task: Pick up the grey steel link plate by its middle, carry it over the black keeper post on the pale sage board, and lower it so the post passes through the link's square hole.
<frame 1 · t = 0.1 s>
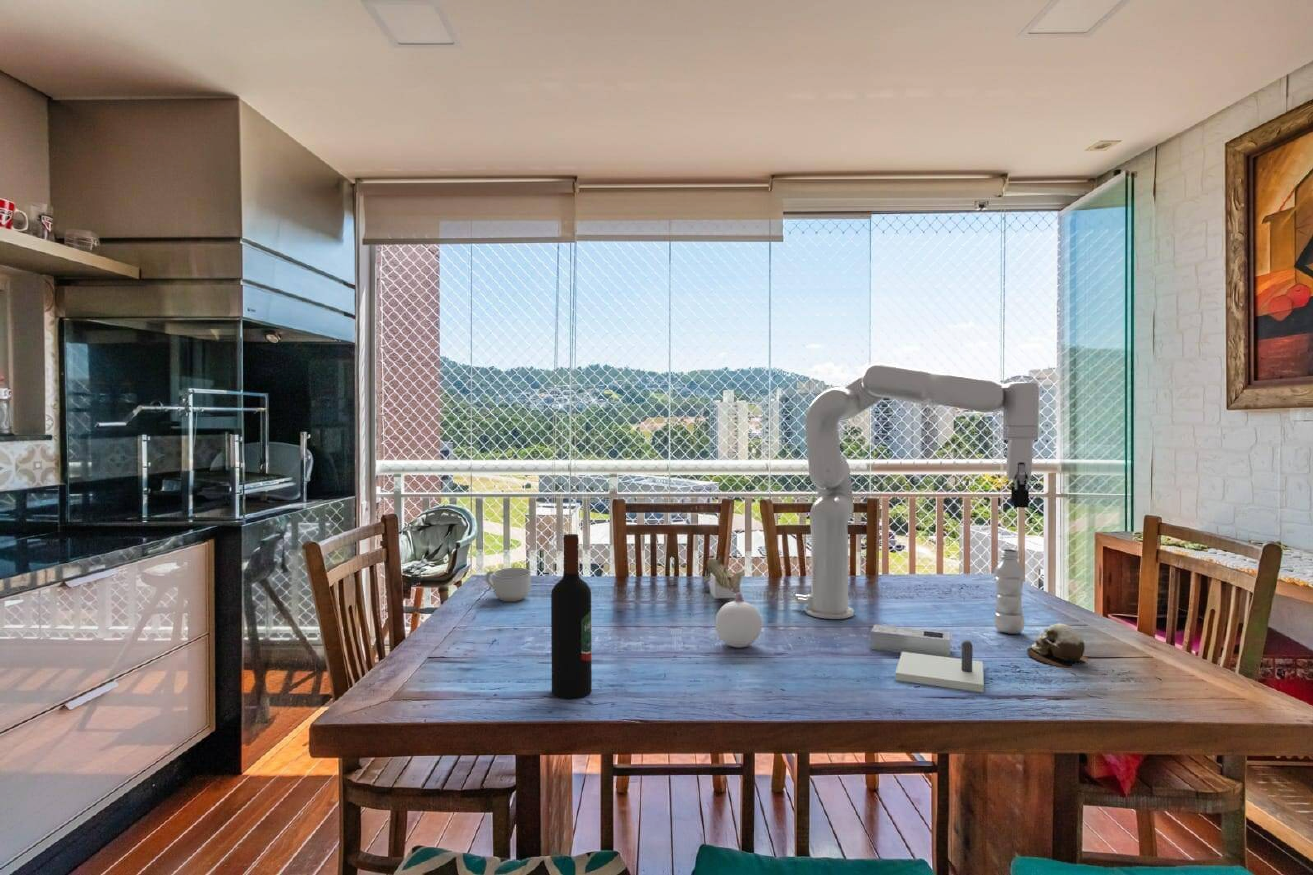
hand: (1019, 504, 174), 31 cm above the table, tool pointing down, fingers open, 9 cm apart
wine bottle: (571, 692, 138), on the table
link plate: (909, 649, 163), on the table
teacup: (507, 599, 209), on the table
skull: (1058, 659, 157), on the table
ornament: (738, 647, 166), on the table
plastic bottle: (1008, 633, 176), on the table
wood carving: (724, 598, 210), on the table
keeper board: (940, 674, 147), on the table
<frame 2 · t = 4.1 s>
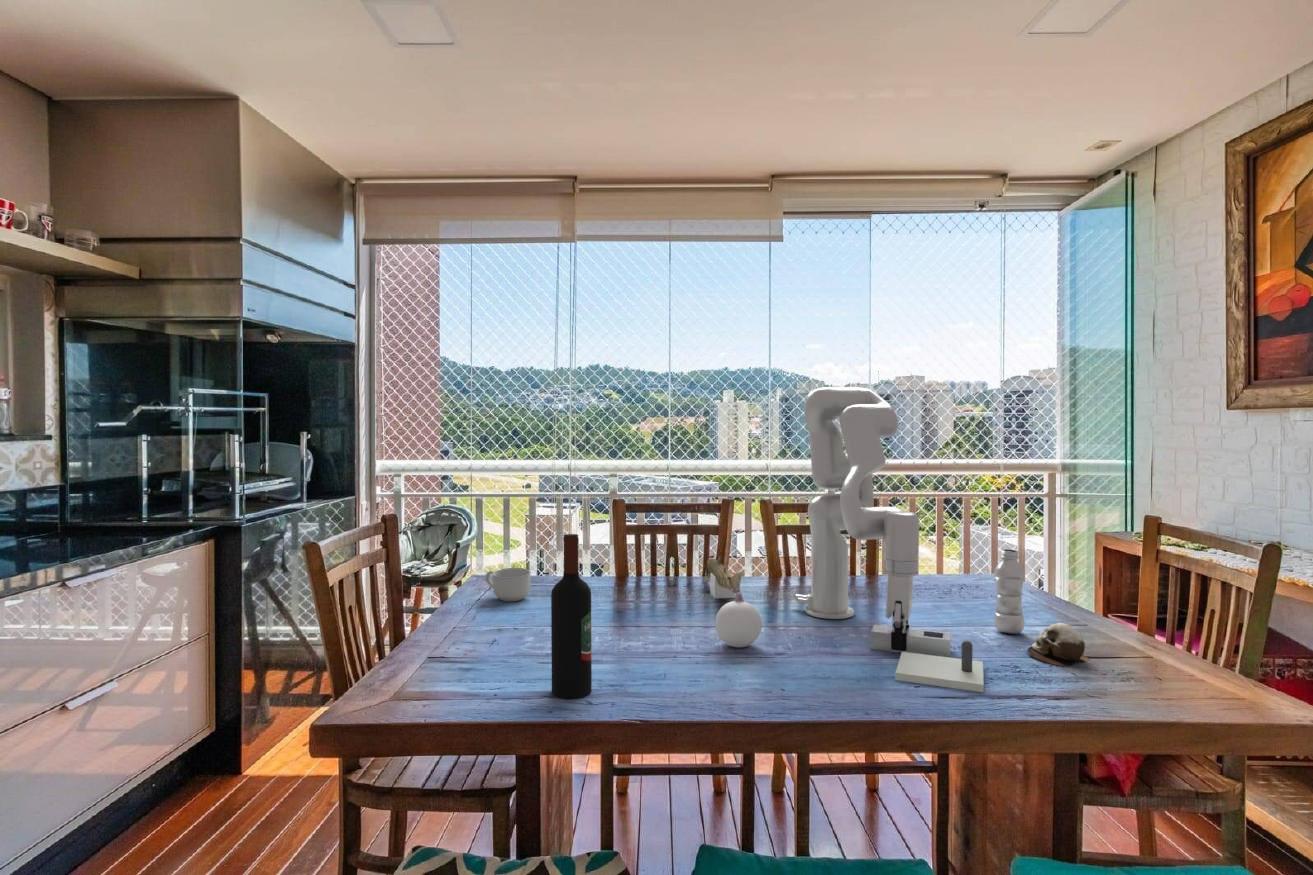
hand: (900, 644, 164), 1 cm above the table, tool pointing down, fingers closed on link plate, 6 cm apart
link plate: (909, 649, 163), on the table, touching gripper
everything else where it was.
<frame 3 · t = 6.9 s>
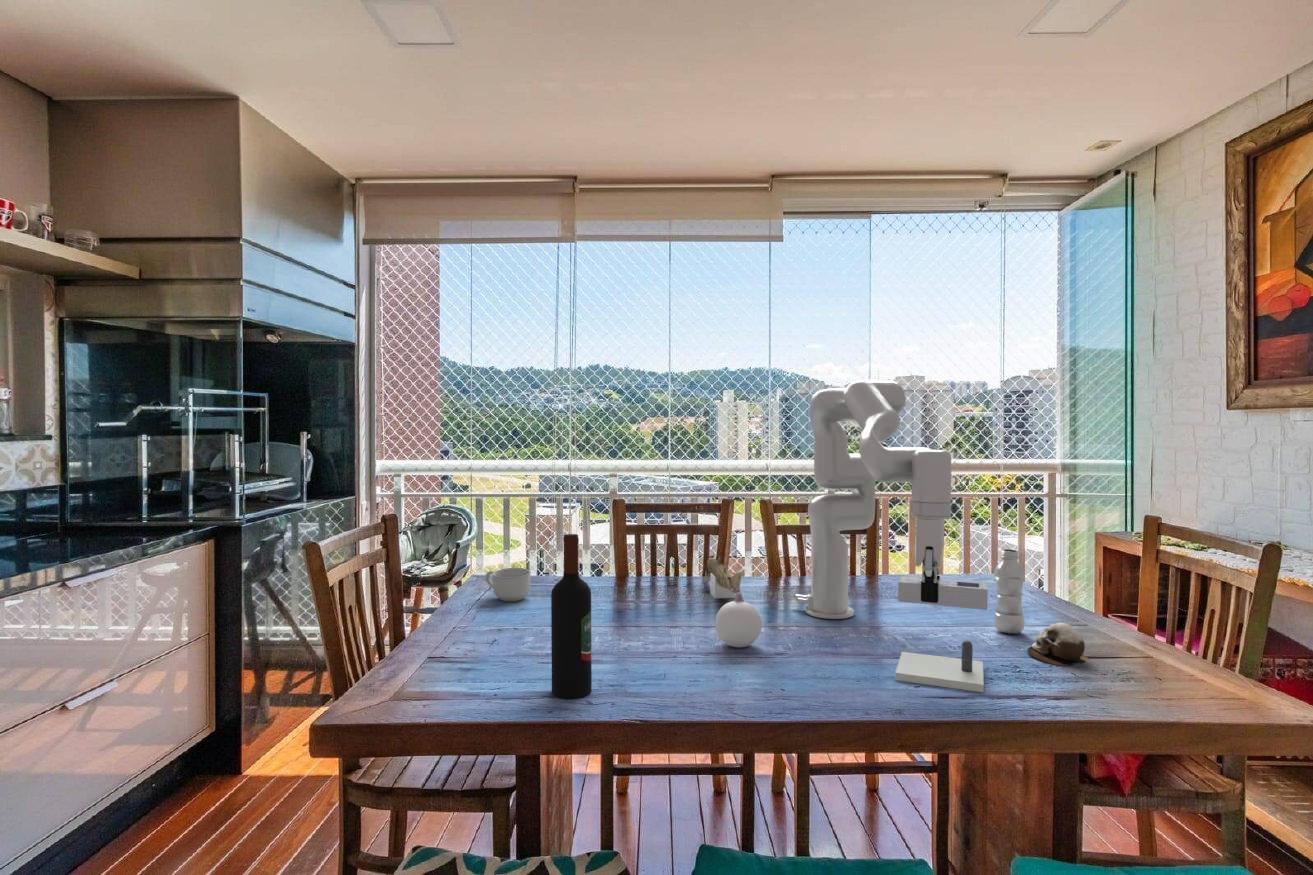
hand: (930, 597, 148), 16 cm above the table, tool pointing down, fingers closed on link plate, 6 cm apart
link plate: (941, 602, 147), point 15 cm above the table, touching gripper
everything else where it was.
when the fingers open (4 cm above the table, at t = 9.6 s): link plate drops 2 cm, resting on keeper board.
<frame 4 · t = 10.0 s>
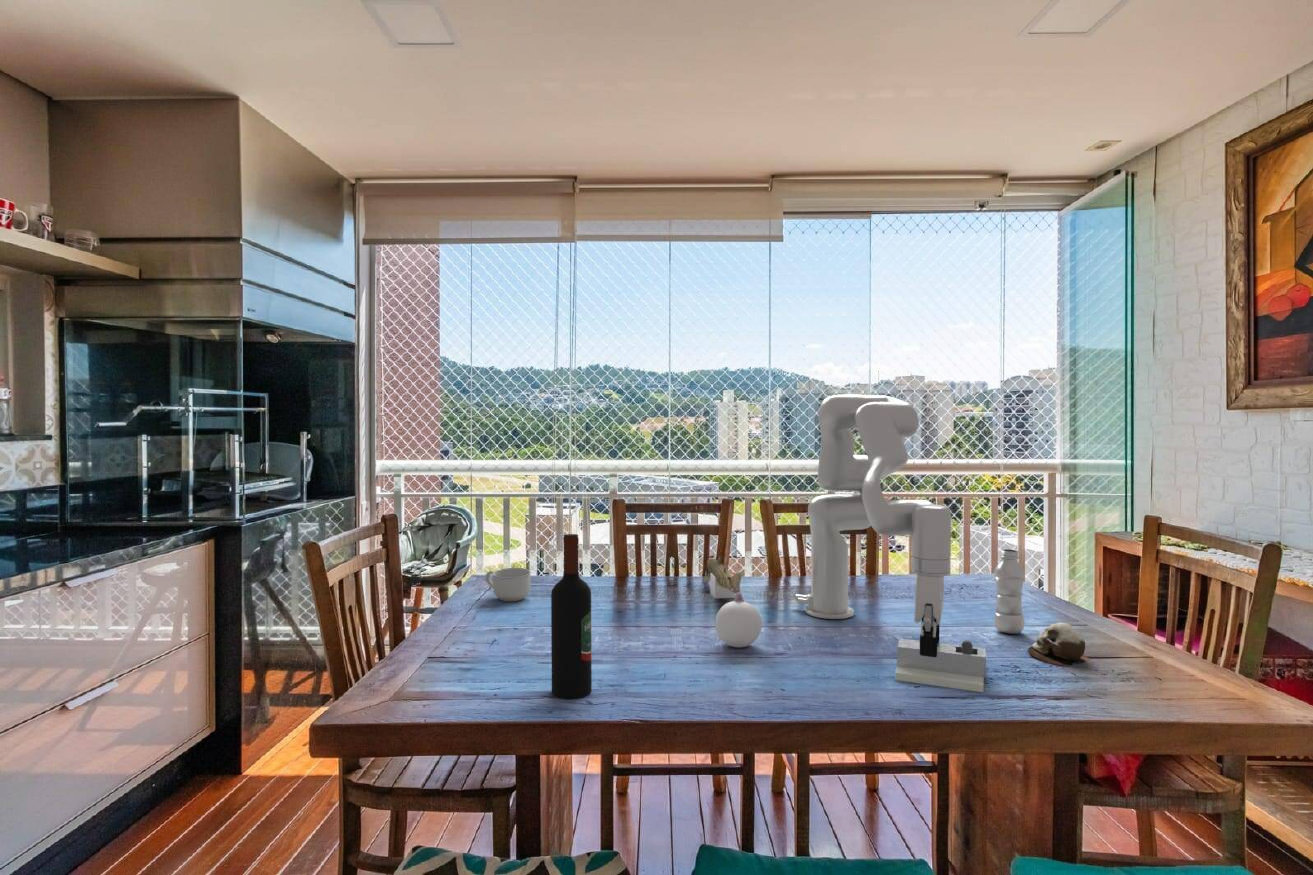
hand: (929, 648, 148), 5 cm above the table, tool pointing down, fingers open, 9 cm apart
link plate: (939, 666, 147), point 1 cm above the table, touching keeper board
everything else where it was.
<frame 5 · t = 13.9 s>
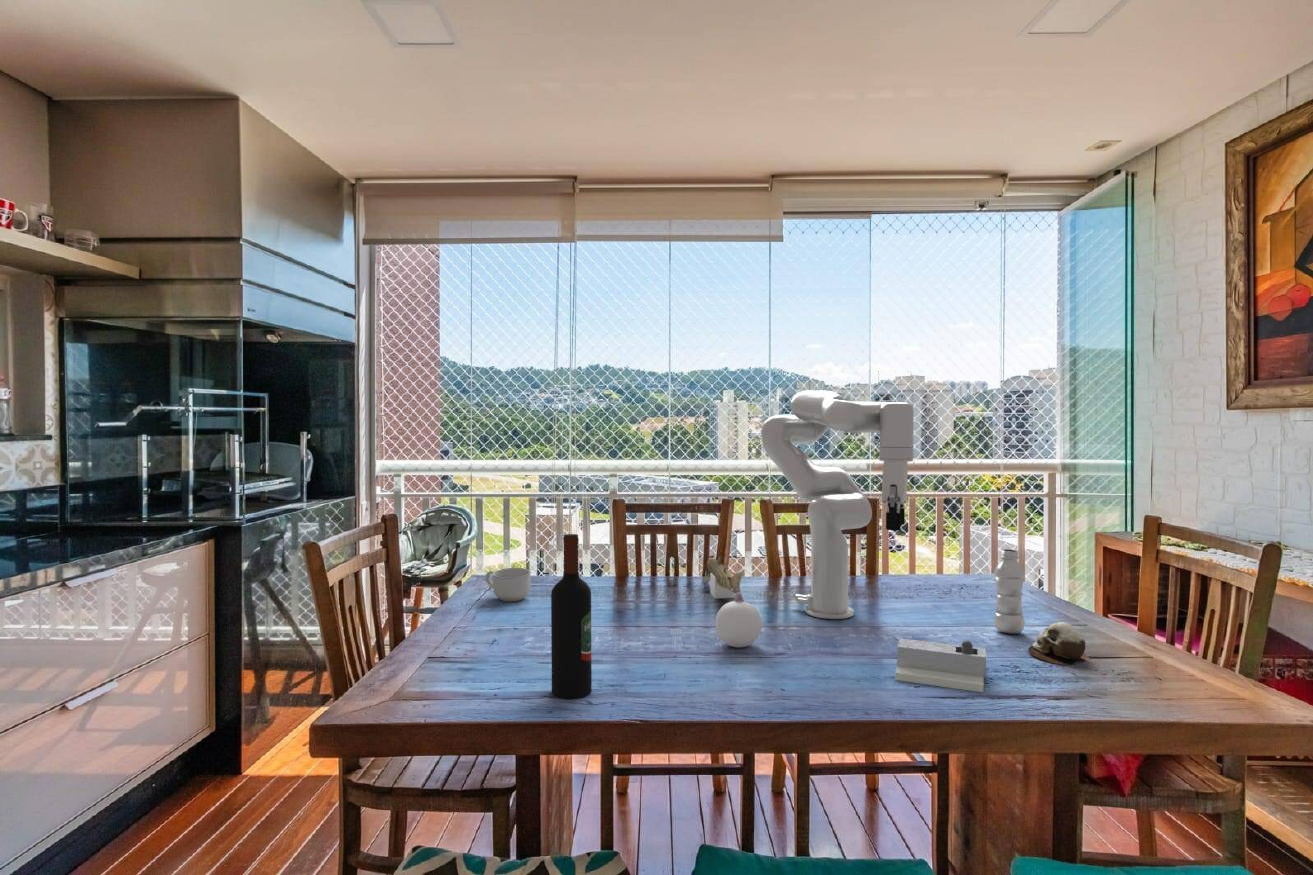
hand: (895, 527, 171), 26 cm above the table, tool pointing down, fingers open, 9 cm apart
at the end: link plate 0.1 cm off-centre on the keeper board, point 1.5 cm above the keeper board's base; link plate tilted 0°; the gripper is holding nothing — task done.
